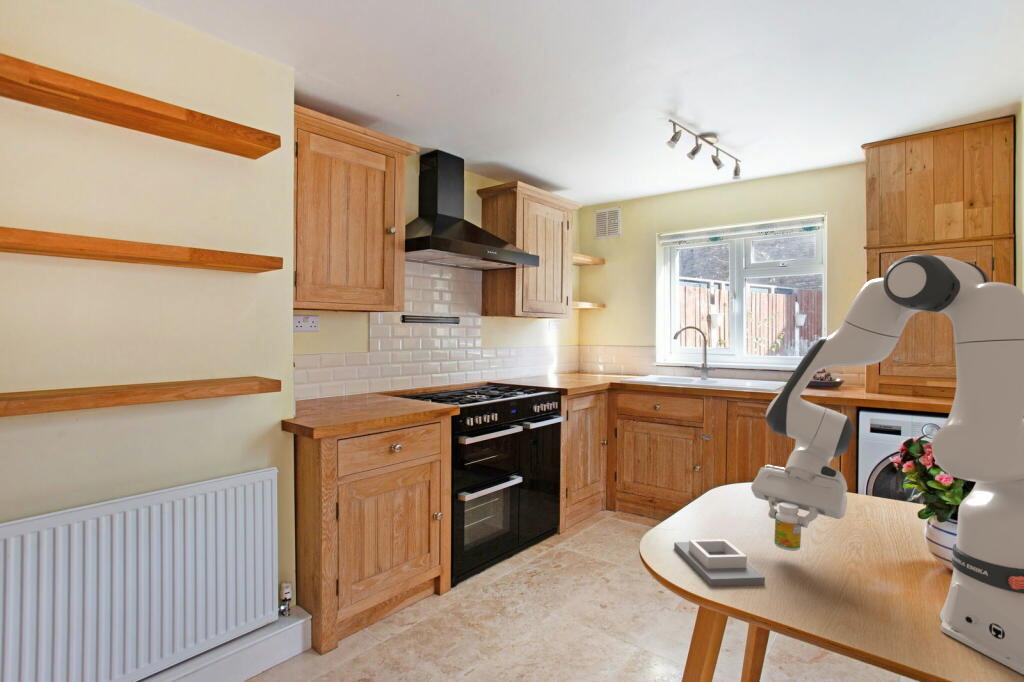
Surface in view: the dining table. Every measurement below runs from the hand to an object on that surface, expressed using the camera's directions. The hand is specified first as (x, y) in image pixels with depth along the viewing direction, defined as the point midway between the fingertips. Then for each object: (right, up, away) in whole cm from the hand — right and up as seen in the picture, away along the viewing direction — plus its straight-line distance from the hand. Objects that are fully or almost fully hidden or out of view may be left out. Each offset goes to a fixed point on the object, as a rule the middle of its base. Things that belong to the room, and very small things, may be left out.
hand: (787, 521), depth 123 cm
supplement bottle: (0, -6, +1) cm, 6 cm away
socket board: (-18, -9, -3) cm, 20 cm away
